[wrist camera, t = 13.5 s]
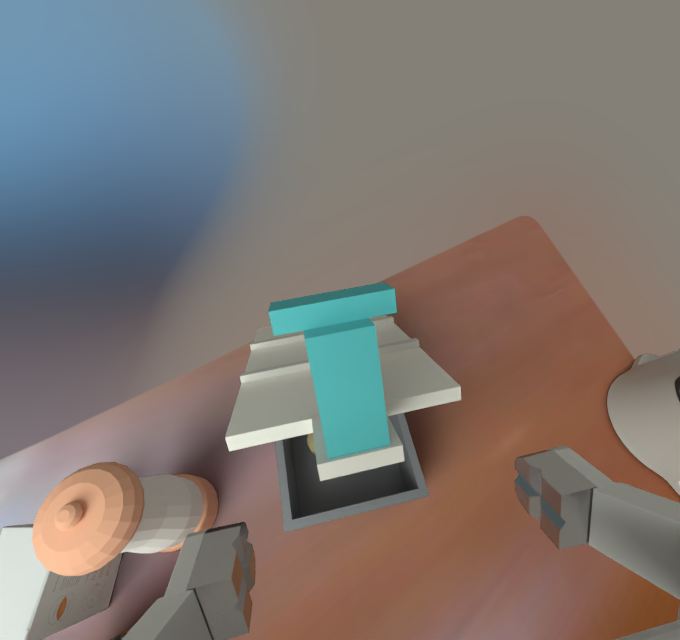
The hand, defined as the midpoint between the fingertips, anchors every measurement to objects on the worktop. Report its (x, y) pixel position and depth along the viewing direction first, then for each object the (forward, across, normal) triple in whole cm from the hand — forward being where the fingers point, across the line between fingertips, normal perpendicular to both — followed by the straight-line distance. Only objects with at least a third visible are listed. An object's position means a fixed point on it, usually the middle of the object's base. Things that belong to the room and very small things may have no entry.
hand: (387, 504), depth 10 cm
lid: (+19, 0, +4) cm, 19 cm away
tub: (+30, 0, +17) cm, 34 cm away
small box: (+24, +29, +23) cm, 44 cm away
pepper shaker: (+26, +19, +21) cm, 38 cm away
